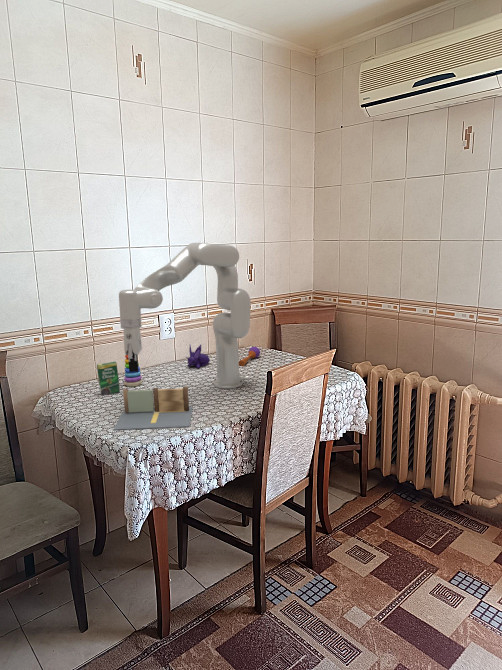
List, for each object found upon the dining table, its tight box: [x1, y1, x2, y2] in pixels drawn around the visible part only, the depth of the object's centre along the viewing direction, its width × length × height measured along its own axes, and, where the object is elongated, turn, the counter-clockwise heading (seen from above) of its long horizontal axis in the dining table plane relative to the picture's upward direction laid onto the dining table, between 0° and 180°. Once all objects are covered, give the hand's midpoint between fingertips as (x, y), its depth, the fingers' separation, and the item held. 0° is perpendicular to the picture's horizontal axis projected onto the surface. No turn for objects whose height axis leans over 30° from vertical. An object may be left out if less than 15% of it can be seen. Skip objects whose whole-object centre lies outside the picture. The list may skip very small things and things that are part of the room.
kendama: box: [239, 346, 261, 367], centre depth 252 cm, size 6×6×20 cm
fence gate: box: [122, 388, 154, 413], centre depth 184 cm, size 11×2×9 cm, turn 93°
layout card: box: [112, 405, 194, 431], centre depth 180 cm, size 26×19×1 cm
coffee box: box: [96, 361, 121, 396], centre depth 207 cm, size 8×3×13 cm, turn 114°
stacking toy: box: [123, 354, 143, 387], centre depth 217 cm, size 8×8×19 cm
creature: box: [185, 344, 211, 369], centre depth 244 cm, size 9×18×12 cm, turn 147°
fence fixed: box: [152, 385, 190, 412], centre depth 184 cm, size 13×2×9 cm, turn 93°
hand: (133, 371), depth 187 cm, fingers closed
